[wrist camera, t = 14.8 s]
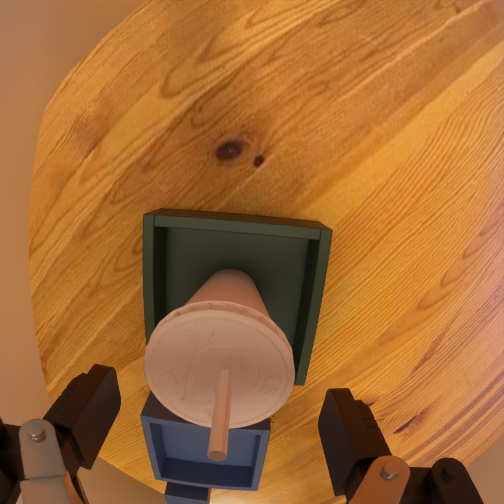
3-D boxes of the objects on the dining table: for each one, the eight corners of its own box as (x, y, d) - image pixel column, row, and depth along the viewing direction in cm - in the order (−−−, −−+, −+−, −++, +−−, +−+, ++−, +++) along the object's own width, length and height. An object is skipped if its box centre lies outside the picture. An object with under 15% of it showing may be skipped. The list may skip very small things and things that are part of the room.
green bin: (160, 347, 22) (148, 372, 19) (160, 208, 20) (142, 213, 16) (297, 359, 23) (304, 386, 19) (319, 221, 20) (333, 229, 17)
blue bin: (161, 456, 26) (155, 479, 22) (150, 389, 23) (140, 415, 20) (256, 466, 26) (257, 491, 23) (268, 402, 24) (270, 430, 20)
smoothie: (295, 291, 21) (357, 450, 7) (235, 349, 22) (222, 518, 8) (225, 229, 20) (176, 335, 6) (167, 296, 21) (75, 442, 7)
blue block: (174, 483, 27) (168, 510, 23) (171, 464, 26) (164, 494, 22) (211, 488, 27) (208, 516, 23) (210, 470, 26) (207, 501, 22)
